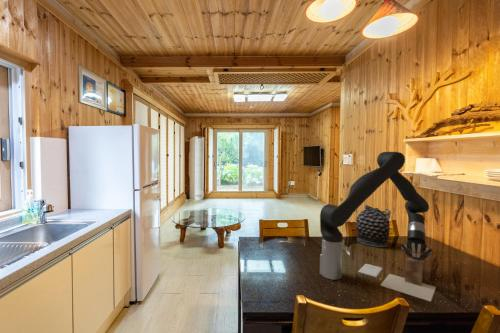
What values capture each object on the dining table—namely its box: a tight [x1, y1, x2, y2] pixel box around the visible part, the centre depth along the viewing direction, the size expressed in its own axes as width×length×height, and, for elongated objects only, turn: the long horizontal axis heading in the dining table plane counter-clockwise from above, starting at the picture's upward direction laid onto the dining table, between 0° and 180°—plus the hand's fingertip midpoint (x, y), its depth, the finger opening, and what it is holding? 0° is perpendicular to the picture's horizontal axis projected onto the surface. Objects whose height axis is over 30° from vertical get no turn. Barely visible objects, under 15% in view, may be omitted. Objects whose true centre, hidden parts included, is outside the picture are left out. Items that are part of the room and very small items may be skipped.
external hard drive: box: [357, 263, 384, 279], centre depth 124 cm, size 2×8×12 cm
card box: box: [404, 256, 424, 286], centre depth 112 cm, size 6×4×10 cm, turn 48°
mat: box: [379, 273, 437, 302], centre depth 109 cm, size 18×15×1 cm
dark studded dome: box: [354, 204, 392, 248], centre depth 164 cm, size 21×15×25 cm
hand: (415, 266), depth 116 cm, fingers closed
